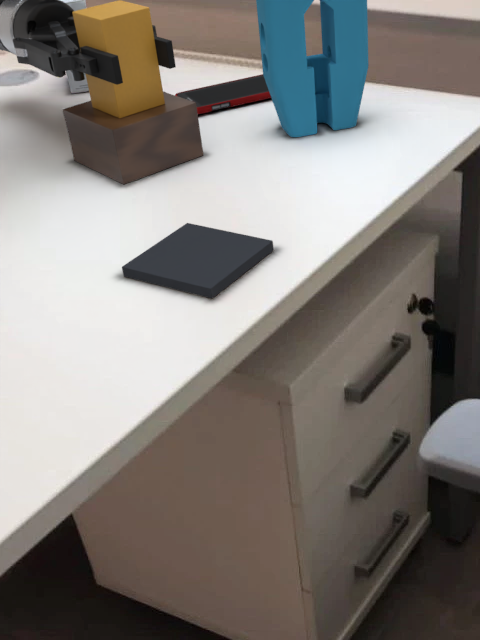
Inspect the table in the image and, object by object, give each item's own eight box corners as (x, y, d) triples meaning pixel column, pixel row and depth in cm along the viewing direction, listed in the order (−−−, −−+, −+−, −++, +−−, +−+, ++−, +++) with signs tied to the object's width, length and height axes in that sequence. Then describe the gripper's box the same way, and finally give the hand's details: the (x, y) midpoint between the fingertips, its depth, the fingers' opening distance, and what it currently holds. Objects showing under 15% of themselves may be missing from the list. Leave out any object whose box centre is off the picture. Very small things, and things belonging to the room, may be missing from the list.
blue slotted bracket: (357, 111, 111) (352, -72, 98) (372, 123, 107) (368, -65, 95) (266, 127, 109) (248, -57, 96) (277, 140, 105) (260, -50, 92)
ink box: (67, 77, 131) (48, -11, 124) (101, 73, 132) (84, -15, 125) (69, 94, 125) (48, 2, 117) (105, 89, 125) (86, -2, 118)
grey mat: (212, 298, 76) (210, 288, 76) (123, 276, 81) (121, 266, 80) (273, 250, 83) (273, 240, 82) (188, 232, 87) (187, 222, 86)
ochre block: (119, 118, 97) (100, 19, 90) (92, 107, 100) (71, 11, 94) (165, 104, 99) (149, 7, 93) (137, 93, 103) (119, -1, 97)
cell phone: (296, 93, 118) (295, 85, 117) (193, 116, 113) (192, 108, 113) (272, 79, 123) (271, 72, 123) (173, 101, 119) (172, 93, 118)
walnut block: (123, 184, 98) (112, 130, 94) (74, 160, 104) (62, 109, 101) (203, 155, 103) (196, 102, 99) (151, 134, 110) (142, 84, 106)
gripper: (-42, 13, 100) (56, 45, 86) (101, -20, 110) (212, 4, 95) (-23, 81, 105) (74, 123, 91) (114, 44, 114) (220, 76, 100)
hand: (144, 62), depth 93 cm, fingers closed on ochre block, 6 cm apart
